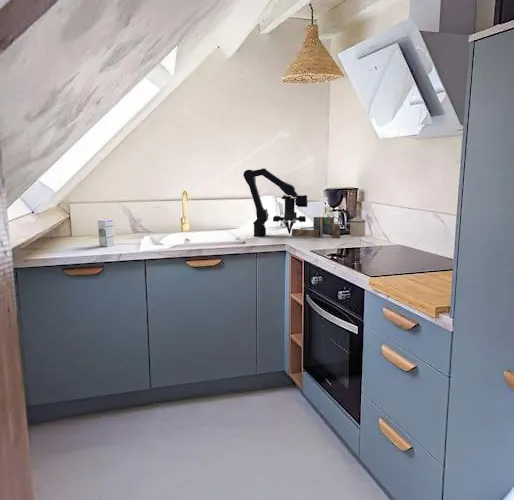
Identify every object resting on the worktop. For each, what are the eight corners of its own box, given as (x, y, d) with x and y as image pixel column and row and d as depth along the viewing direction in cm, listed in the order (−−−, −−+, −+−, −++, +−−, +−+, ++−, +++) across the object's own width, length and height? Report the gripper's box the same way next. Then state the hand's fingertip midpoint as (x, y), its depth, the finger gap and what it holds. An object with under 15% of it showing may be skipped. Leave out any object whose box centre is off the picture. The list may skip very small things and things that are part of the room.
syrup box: (115, 245, 268) (113, 218, 265) (106, 247, 263) (104, 219, 260) (107, 244, 270) (105, 217, 268) (99, 246, 265) (97, 219, 263)
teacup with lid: (365, 234, 299) (365, 214, 297) (365, 236, 290) (365, 216, 288) (344, 233, 302) (345, 214, 299) (344, 236, 293) (344, 216, 291)
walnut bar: (291, 236, 294) (291, 229, 293) (293, 235, 297) (293, 228, 297) (318, 237, 288) (318, 230, 288) (320, 236, 292) (320, 229, 291)
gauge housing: (313, 237, 287) (313, 220, 285) (313, 233, 304) (313, 217, 302) (339, 238, 285) (340, 220, 284) (338, 233, 302) (338, 217, 300)
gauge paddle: (320, 236, 288) (320, 221, 286) (320, 233, 302) (320, 218, 300) (322, 236, 287) (322, 221, 286) (322, 233, 302) (322, 218, 300)
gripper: (272, 208, 284) (272, 235, 286) (305, 208, 281) (305, 235, 284) (273, 206, 295) (273, 232, 297) (305, 206, 292) (305, 233, 295)
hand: (289, 233), depth 293 cm, fingers closed
